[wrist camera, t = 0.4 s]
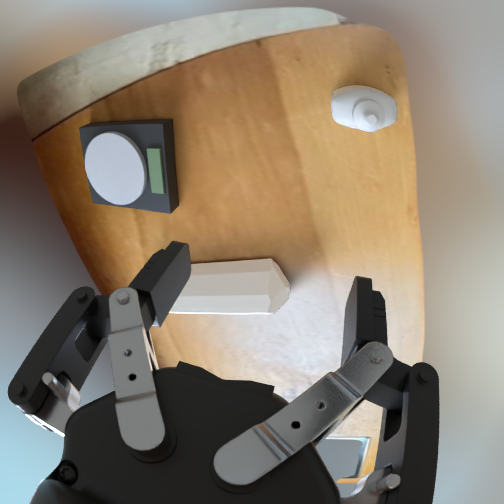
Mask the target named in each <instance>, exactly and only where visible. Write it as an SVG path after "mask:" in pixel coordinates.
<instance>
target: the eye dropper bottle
mask: <svg viewBox="0 0 504 504" xmlns="http://www.w3.org/2000/svg"><path fill="white" fill-rule="evenodd" d="M331 110H332V117H333V119H334V120H335V121H336V122H337V123H339V124H341V125H344V126H347V127H350V128H354V129H360V130H363V131H365V132H366V131H367V132H374V131H377V130H379V129H380V128H384V127H387V126H389V125H392V124H393V123H395V122H396V120H397V104H396V101H395V100H394V99H393V98H392V97H391V96H389V95H387V94H386V93H384V92H382V91H380V90H378V89H376V88H373V87H369V86H363V85H350V86H345V87H342V88H339V89H336V90H334V91H333V92H332V95H331Z"/></svg>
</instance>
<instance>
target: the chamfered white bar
mask: <svg viewBox="0 0 504 504" xmlns="http://www.w3.org/2000/svg"><path fill="white" fill-rule="evenodd" d="M289 293H290V285H289V282H288V280H287V279H286V277H285V276H284V274H283V272H282V271H281V269H280V267H279V266H278V264H277V263H276V262H274V261H273V260H272V259H271V258H270V259H257V260H243V261H229V262H215V263H201V264H191V275H190V278H189V280H188V282H187V283H186V285H185V287H184V288H183V290H182V292H181V293H180V295H179V297H178V298H177V300H176V302H175V303H174V305H173V307H172V308H171V310H170V312H169V313H193V314H275V313H276V312H277V311H278V310H279V309H280V308H281V307H282V306H283V305H284V304H285V302H286V301H287V300H288V299H289Z"/></svg>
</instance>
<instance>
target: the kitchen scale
mask: <svg viewBox="0 0 504 504" xmlns="http://www.w3.org/2000/svg"><path fill="white" fill-rule="evenodd" d="M79 130H80V137H81V144H82V150H83V156H84V162H85V168H86V173H87V177H88V182H89V187H90V192H91V196H92V201H93V203H95V204H103V205H111V206H119V207H126V208H134V209H141V210H148V211H155V212H162V213H170V214H171V213H172V212H173V211H174V210H175V209H176V208H177V207H178V206H179V202H178V192H177V180H176V168H175V154H174V139H173V121H172V119H160V120H128V121H111V122H98V123H89V124H87V125H85V126H82V127H80V128H79Z"/></svg>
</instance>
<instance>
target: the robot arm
mask: <svg viewBox="0 0 504 504" xmlns="http://www.w3.org/2000/svg"><path fill="white" fill-rule="evenodd" d="M190 275H191V260H190V252H189V245H188V244H187V243H182V242H177V241H172V242H171V243H170V244H169V246H168V247H167V248H166V249H165V250H164V249H161V250H159V251H158V252H156V253H155V254H153V255H152V257H151V258H150V259H149V260H148V263H146V264H145V265H144V268H142V269H141V270H140V272H139V273H138V274H137V276H136V277H135V278H134V279H133V281H132V282H131V283H130V285H129V286H128V287H122V288H119V289H117V290H115V291H114V292H113V293H112V294H111V295H100V296H99V295H96V294H95V292H94V290H93V289H92V288H90V287H80V288H78V289H76V290H75V291H73V292H72V294H71V295H70V296H69V298H68V299H67V300H66V302H65V303H64V304H63V305H62V307H61V308H60V309H59V311H58V312H57V313H56V315H55V316H54V318H53V319H52V320H51V322H50V323H49V324H48V326H47V328H46V329H45V330H44V332H43V333H42V334H41V336H40V337H39V339H38V340H37V342H36V343H35V345H34V346H33V348H32V349H31V351H30V352H29V354H28V356H27V357H26V359H25V360H24V362H23V363H22V365H21V367H20V368H19V369H18V371H17V373H16V374H15V376H14V378H13V379H12V381H11V383H10V384H9V387H8V397H9V399H10V400H11V402H13V403H14V404H15V405H16V406H17V407H18V408H19V409H21V411H22V412H23V413H24V414H25V415H26V416H28V417H29V418H30V419H31V420H33V421H34V422H35V423H37V424H39V425H40V426H42V427H43V428H44V429H46V430H47V431H56V432H57V433H59V434H61V435H63V436H64V449H63V455H62V459H61V461H60V463H59V465H58V466H57V468H56V469H55V470H54V471H53V472H52V473H51V474H50V475H48V476H47V477H46V478H45V479H44V480H42V481H41V482H40V483H39V485H38V486H37V488H36V490H35V492H34V495H33V496H32V499H31V501H30V503H29V504H432V502H433V495H434V488H435V480H436V469H437V459H438V443H439V378H438V374H437V372H436V370H435V369H434V368H433V367H432V366H431V365H429V364H427V363H424V362H420V363H416V364H414V365H413V366H412V367H411V366H409V365H407V364H405V363H402V362H400V361H398V360H397V359H396V358H394V357H393V354H392V351H391V350H390V349H389V347H388V342H387V322H386V311H385V310H386V308H385V300H384V298H383V296H382V294H381V293H380V292H379V291H374V290H372V279H371V278H365V277H360V276H355V279H354V282H353V285H352V288H351V291H350V294H349V297H348V299H347V303H346V308H345V320H344V335H343V347H342V358H341V367H340V368H339V369H338V370H337V371H335V372H334V373H333V372H329V373H328V374H326V375H325V376H324V377H323V378H321V379H320V380H319V381H318V382H316V383H315V384H314V385H313V386H311V387H310V388H309V389H308V390H306V391H305V392H304V393H302V394H301V395H300V396H299V397H297V398H296V399H295V400H293V401H292V402H291V403H288V402H287V401H286V400H285V399H284V398H282V397H281V396H279V395H277V394H275V393H273V391H274V387H275V386H272V385H267V384H263V383H258V382H254V381H245V380H223V379H221V378H219V377H217V376H215V375H214V374H212V373H210V372H208V371H206V370H205V369H203V368H201V367H198V366H194V365H191V364H188V363H184V362H181V361H179V363H178V365H177V367H166V368H161V369H159V367H158V364H157V360H156V356H155V352H154V347H153V343H152V339H151V334H150V331H149V329H150V328H151V326H152V325H155V326H158V327H161V325H162V323H163V322H164V320H165V318H166V317H167V315H168V313H169V312H170V310H171V308H172V307H173V305H174V303H175V302H176V300H177V298H178V297H179V295H180V293H181V292H182V290H183V288H184V287H185V285H186V283H187V282H188V280H189V278H190ZM82 328H84V329H83V330H82V332H81V333H80V335H79V336H78V338H77V339H76V337H77V335H78V334H79V332H80V331H81V329H82ZM75 339H76V341H75ZM108 339H109V349H110V358H111V365H112V373H113V380H114V387H115V391H113V392H111V393H109V394H107V395H105V396H103V397H101V398H99V399H96V400H94V401H93V402H90V403H88V404H86V405H84V406H82V407H80V401H81V397H80V393H79V391H80V389H81V387H82V385H83V384H84V382H85V380H86V378H87V376H88V374H89V373H90V371H91V369H92V367H93V365H94V364H95V362H96V360H97V358H98V357H99V355H100V353H101V351H102V350H103V348H104V346H105V345H106V343H107V341H108ZM365 399H366V400H368V401H370V402H372V403H374V404H376V405H379V406H381V407H383V414H382V422H381V430H380V437H379V444H378V451H377V457H376V462H375V468H374V471H373V472H371V473H369V474H367V475H366V476H364V477H362V478H361V479H360V480H359V481H358V483H357V484H356V487H355V489H354V491H353V492H352V494H351V495H350V496H348V497H347V498H341V497H340V492H339V490H338V487H337V486H336V484H335V482H334V480H333V478H332V477H331V475H330V473H329V471H328V470H327V468H326V466H325V464H324V462H323V461H322V459H321V457H320V455H319V453H318V451H317V450H316V448H315V447H316V446H317V445H318V444H319V443H320V442H322V441H323V440H324V439H325V438H326V437H327V436H328V435H329V434H331V433H332V432H333V431H334V430H335V429H336V428H337V427H338V426H339V425H340V424H341V423H342V422H343V421H344V420H345V419H346V418H347V417H348V416H349V415H350V414H351V413H352V412H353V411H354V410H355V409H356V408H357V407H358V406H359V405H360V404H361V403H362V402H363V401H364V400H365Z"/></svg>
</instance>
